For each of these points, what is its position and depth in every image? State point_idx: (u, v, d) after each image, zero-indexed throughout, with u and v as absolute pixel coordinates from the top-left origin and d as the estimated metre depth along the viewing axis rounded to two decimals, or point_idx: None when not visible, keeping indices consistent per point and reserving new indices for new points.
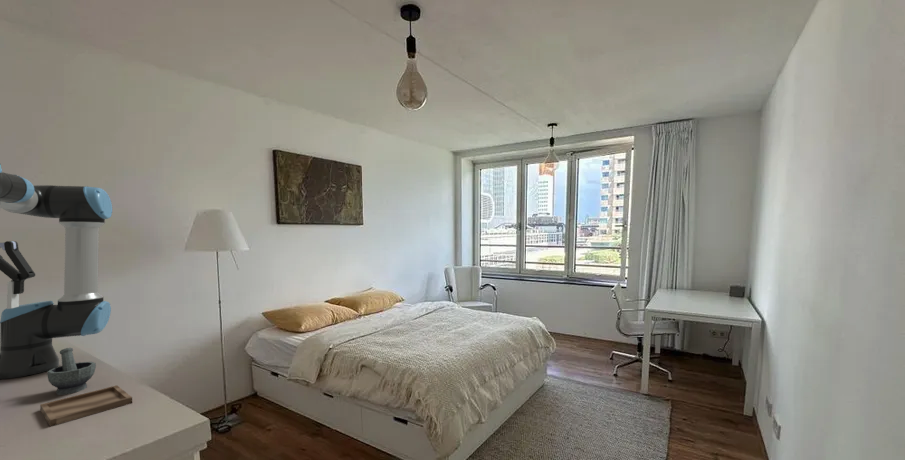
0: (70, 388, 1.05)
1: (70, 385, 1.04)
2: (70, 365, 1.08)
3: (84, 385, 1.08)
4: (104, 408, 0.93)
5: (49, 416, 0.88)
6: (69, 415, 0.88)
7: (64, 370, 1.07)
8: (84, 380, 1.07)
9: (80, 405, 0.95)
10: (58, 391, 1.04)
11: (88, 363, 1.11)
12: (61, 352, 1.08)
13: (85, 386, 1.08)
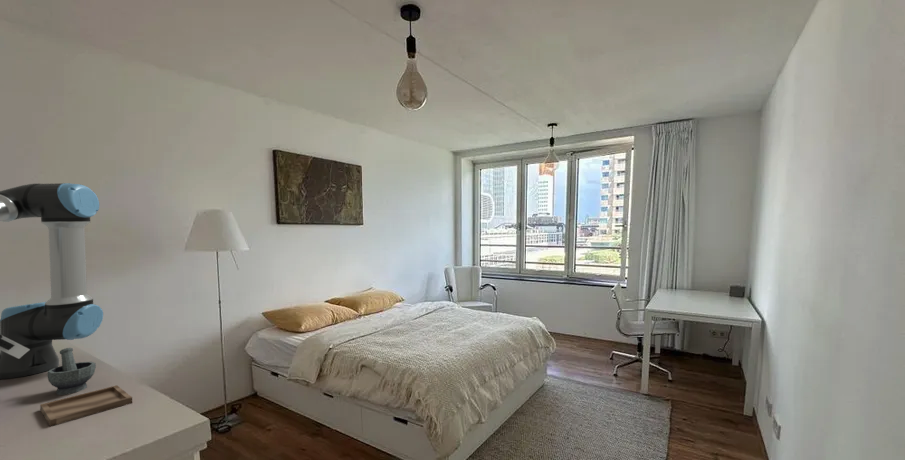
0: (70, 388, 1.05)
1: (70, 385, 1.04)
2: (70, 365, 1.08)
3: (84, 385, 1.08)
4: (104, 408, 0.93)
5: (49, 416, 0.88)
6: (69, 415, 0.88)
7: (64, 370, 1.07)
8: (84, 380, 1.07)
9: (80, 405, 0.95)
10: (58, 391, 1.04)
11: (88, 363, 1.11)
12: (61, 352, 1.08)
13: (85, 386, 1.08)
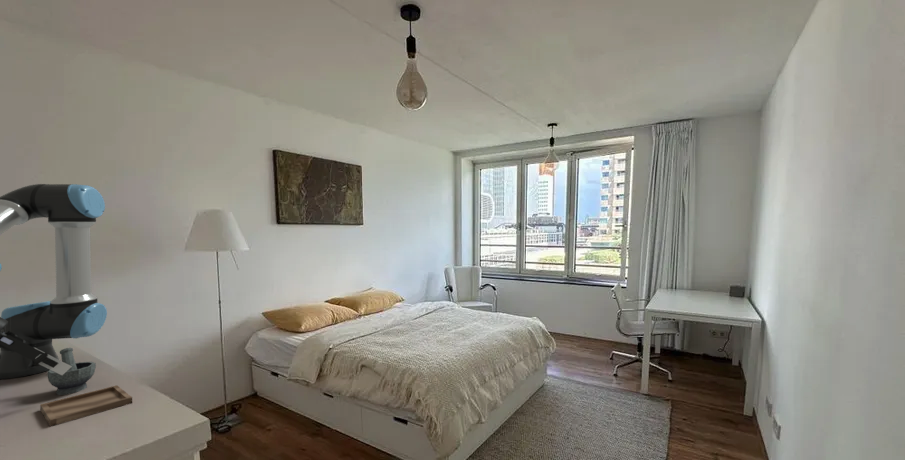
0: (70, 388, 1.05)
1: (70, 385, 1.04)
2: (70, 365, 1.08)
3: (84, 385, 1.08)
4: (104, 408, 0.93)
5: (49, 416, 0.88)
6: (69, 415, 0.88)
7: None
8: (84, 380, 1.07)
9: (80, 405, 0.95)
10: (58, 391, 1.04)
11: (88, 363, 1.11)
12: (61, 352, 1.08)
13: (85, 386, 1.08)
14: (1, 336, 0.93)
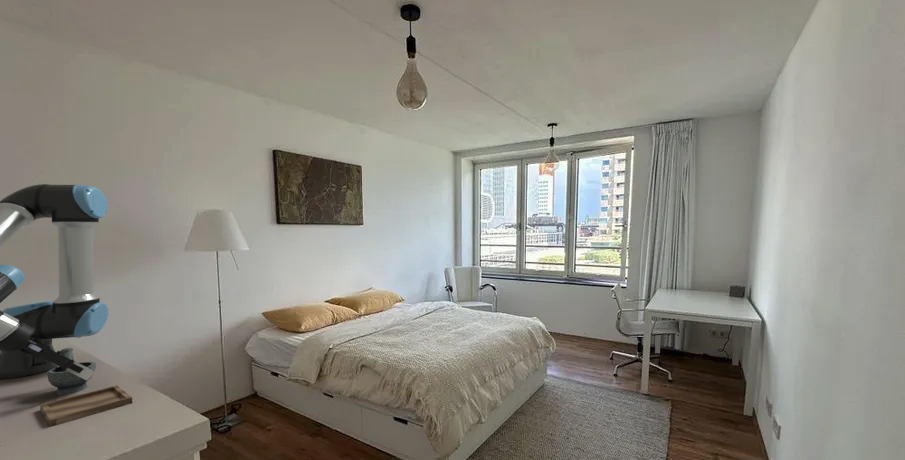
0: (70, 388, 1.05)
1: (70, 385, 1.04)
2: None
3: (84, 385, 1.08)
4: (104, 408, 0.93)
5: (49, 416, 0.88)
6: (69, 415, 0.88)
7: None
8: (84, 380, 1.07)
9: (80, 405, 0.95)
10: (58, 391, 1.04)
11: (88, 363, 1.11)
12: (61, 352, 1.08)
13: (85, 386, 1.08)
14: (29, 343, 0.98)
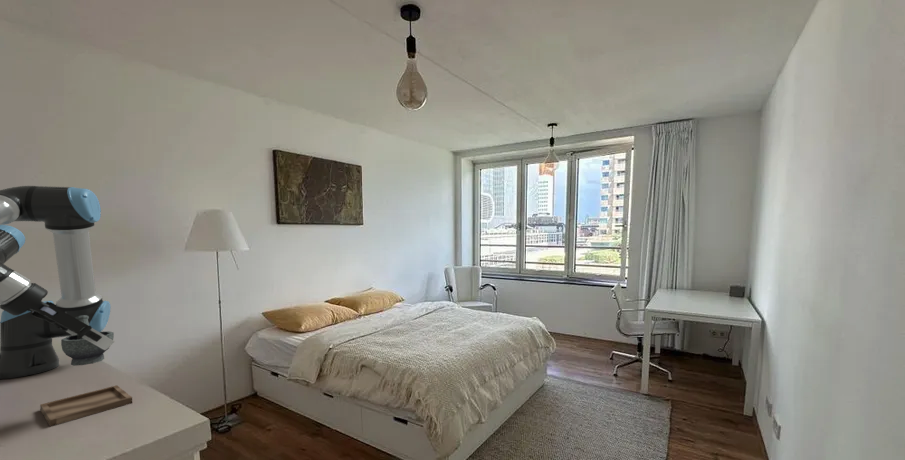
0: (87, 358, 0.94)
1: (86, 355, 0.93)
2: None
3: (101, 356, 0.97)
4: (104, 408, 0.93)
5: (49, 416, 0.88)
6: (69, 415, 0.88)
7: (79, 339, 0.96)
8: (101, 350, 0.96)
9: (80, 405, 0.95)
10: (73, 362, 0.93)
11: (105, 333, 1.00)
12: None
13: (102, 357, 0.97)
14: (42, 306, 0.87)
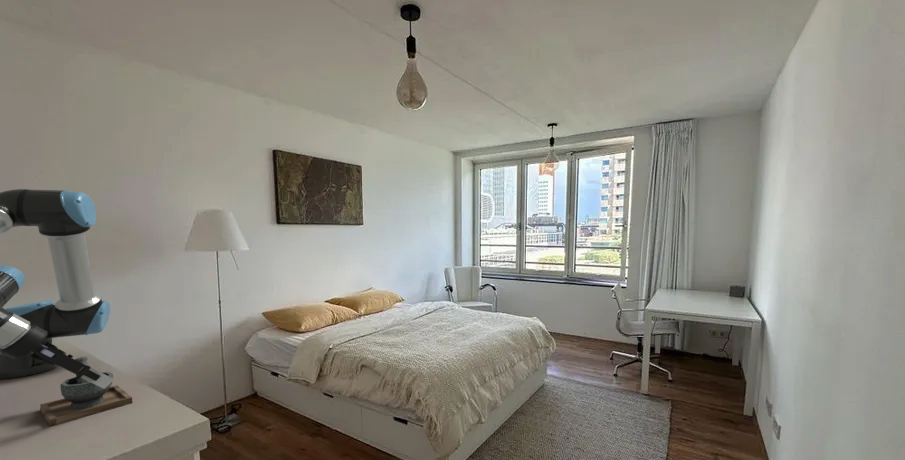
0: (86, 402, 0.94)
1: (86, 399, 0.93)
2: None
3: (101, 398, 0.97)
4: (104, 408, 0.93)
5: (49, 416, 0.88)
6: (69, 415, 0.88)
7: (79, 382, 0.96)
8: (101, 393, 0.96)
9: None
10: (72, 406, 0.93)
11: (105, 374, 1.00)
12: None
13: (102, 399, 0.97)
14: (41, 348, 0.87)
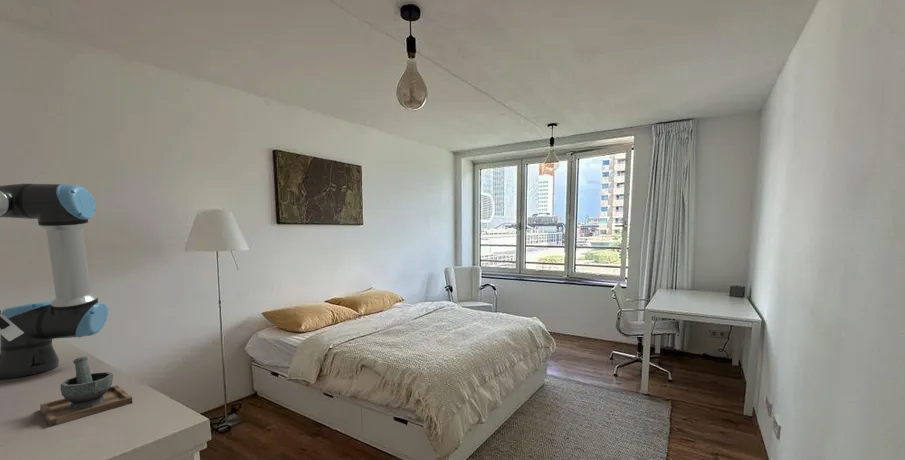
0: (86, 402, 0.94)
1: (86, 399, 0.93)
2: (85, 376, 0.97)
3: (101, 398, 0.97)
4: (104, 408, 0.93)
5: (49, 416, 0.88)
6: (69, 415, 0.88)
7: (79, 382, 0.96)
8: (101, 393, 0.96)
9: None
10: (72, 406, 0.93)
11: (105, 374, 1.00)
12: (75, 362, 0.97)
13: (102, 399, 0.97)
14: None
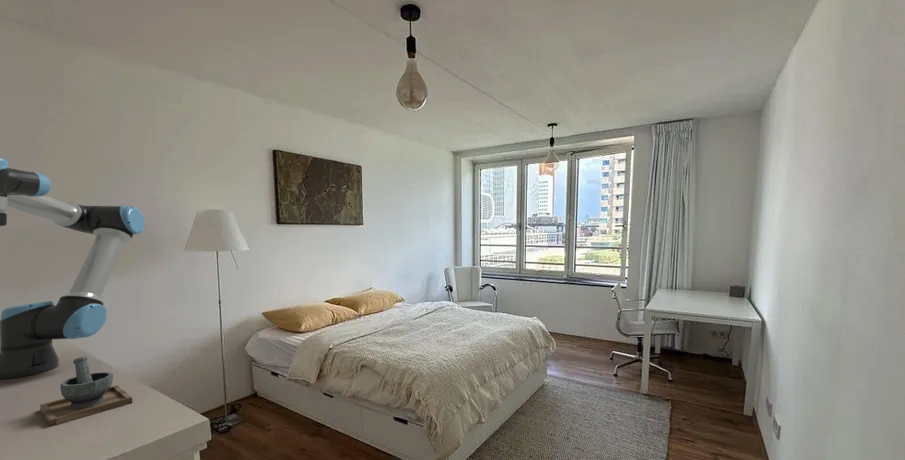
0: (86, 402, 0.94)
1: (86, 399, 0.93)
2: (85, 376, 0.97)
3: (101, 398, 0.97)
4: (104, 408, 0.93)
5: (49, 416, 0.88)
6: (69, 415, 0.88)
7: (79, 382, 0.96)
8: (101, 393, 0.96)
9: None
10: (72, 406, 0.93)
11: (105, 374, 1.00)
12: (75, 362, 0.97)
13: (102, 399, 0.97)
14: None
